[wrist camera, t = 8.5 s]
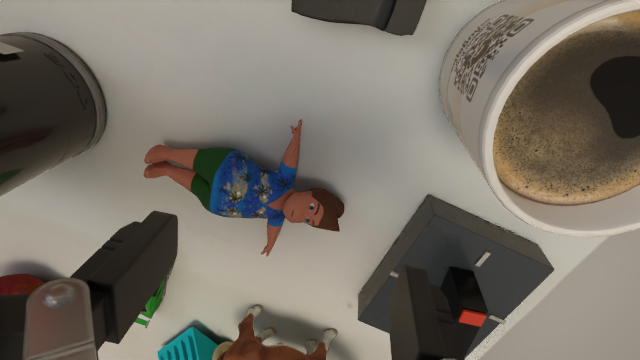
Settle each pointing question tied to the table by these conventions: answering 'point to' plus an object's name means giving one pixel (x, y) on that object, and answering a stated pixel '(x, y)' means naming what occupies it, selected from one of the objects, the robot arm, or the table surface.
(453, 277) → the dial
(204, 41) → the table surface
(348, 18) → the fan shaped piece
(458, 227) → the dial panel
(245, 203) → the toy character
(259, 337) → the bull figurine
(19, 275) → the apple
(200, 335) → the toy train
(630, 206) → the mug
